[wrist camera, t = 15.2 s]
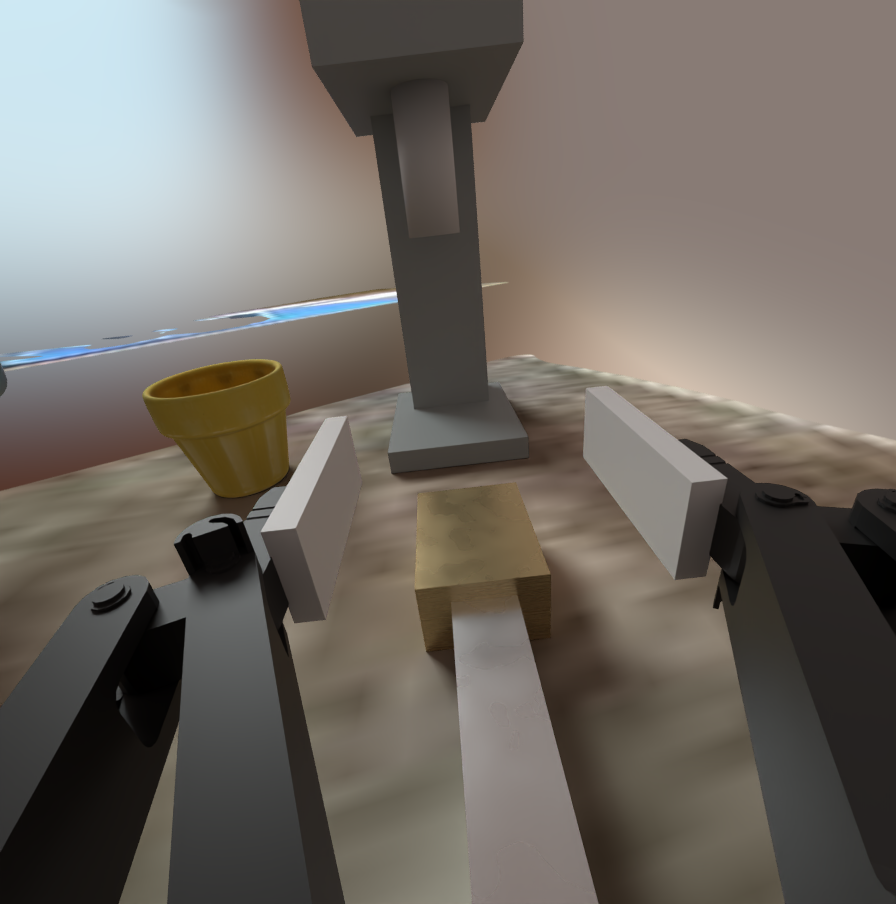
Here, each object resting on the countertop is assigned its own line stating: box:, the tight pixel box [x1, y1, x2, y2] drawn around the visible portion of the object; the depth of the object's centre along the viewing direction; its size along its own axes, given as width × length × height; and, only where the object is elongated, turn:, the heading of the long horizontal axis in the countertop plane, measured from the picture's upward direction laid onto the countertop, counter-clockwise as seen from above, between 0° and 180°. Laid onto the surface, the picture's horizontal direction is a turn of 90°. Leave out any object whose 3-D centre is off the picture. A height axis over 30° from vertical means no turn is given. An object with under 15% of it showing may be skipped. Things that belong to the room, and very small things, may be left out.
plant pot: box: [143, 359, 290, 498], centre depth 36 cm, size 10×10×10 cm
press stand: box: [299, 0, 529, 473], centre depth 37 cm, size 12×17×30 cm
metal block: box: [415, 482, 598, 904], centre depth 18 cm, size 6×20×4 cm, turn 3°
